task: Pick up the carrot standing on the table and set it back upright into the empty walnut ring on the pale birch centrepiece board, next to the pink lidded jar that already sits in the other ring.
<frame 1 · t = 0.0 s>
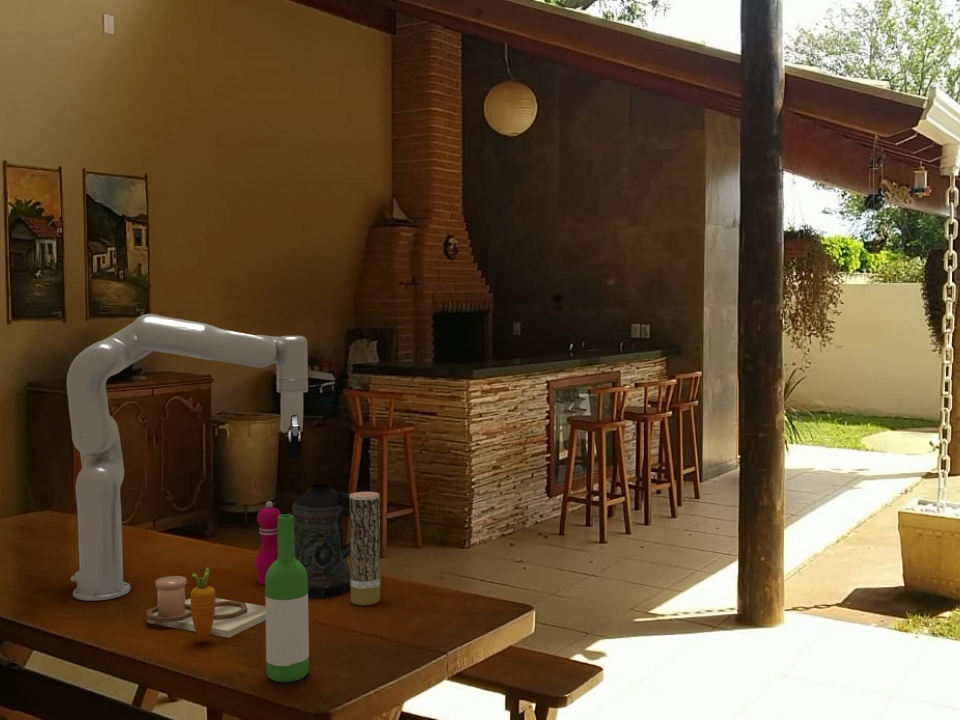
hand: (293, 454, 236), 31 cm above the table, tool pointing down, fingers open, 9 cm apart
pepper mill: (270, 581, 236), on the table
pink lidded jar: (171, 597, 206), point 5 cm above the table
paper tube: (365, 602, 220), on the table
carrot: (203, 643, 194), on the table
beer stein: (323, 588, 231), on the table
stand: (212, 618, 208), on the table
wine bottle: (287, 676, 177), on the table
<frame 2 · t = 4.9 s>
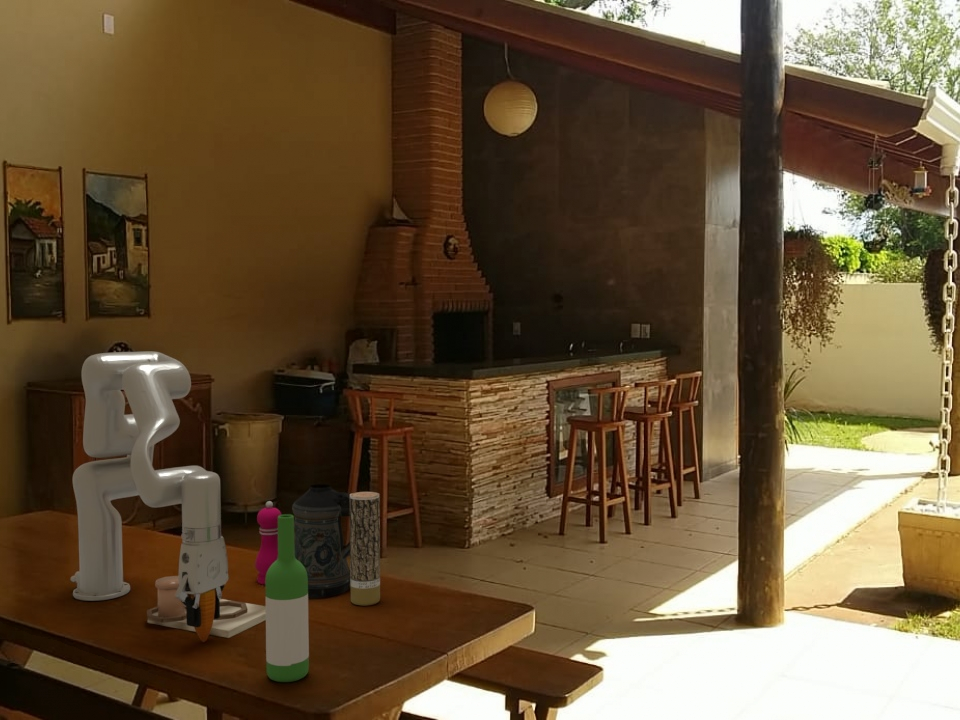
hand: (203, 620, 194), 4 cm above the table, tool pointing down, fingers closed on carrot, 4 cm apart
carrot: (203, 643, 194), on the table, touching gripper
everything else where it was.
when the fingers open (7 cm above the table, at t = 10.0 s): carrot drops 1 cm, resting on stand.
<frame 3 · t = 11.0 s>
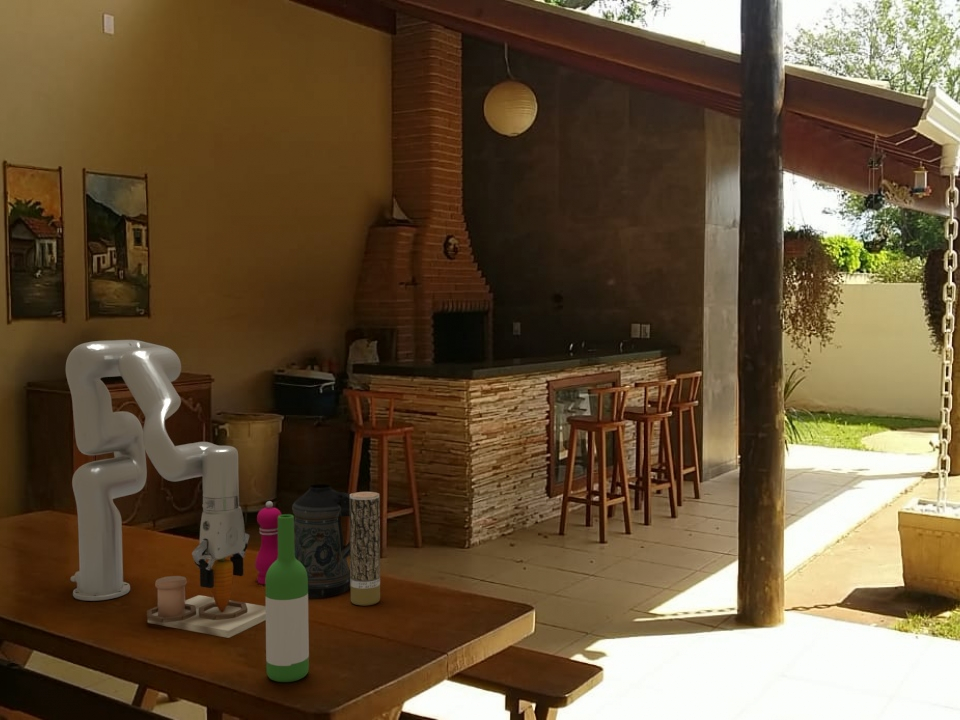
hand: (222, 580, 208), 8 cm above the table, tool pointing down, fingers open, 9 cm apart
carrot: (222, 612, 208), point 1 cm above the table, touching stand
everything else where it was.
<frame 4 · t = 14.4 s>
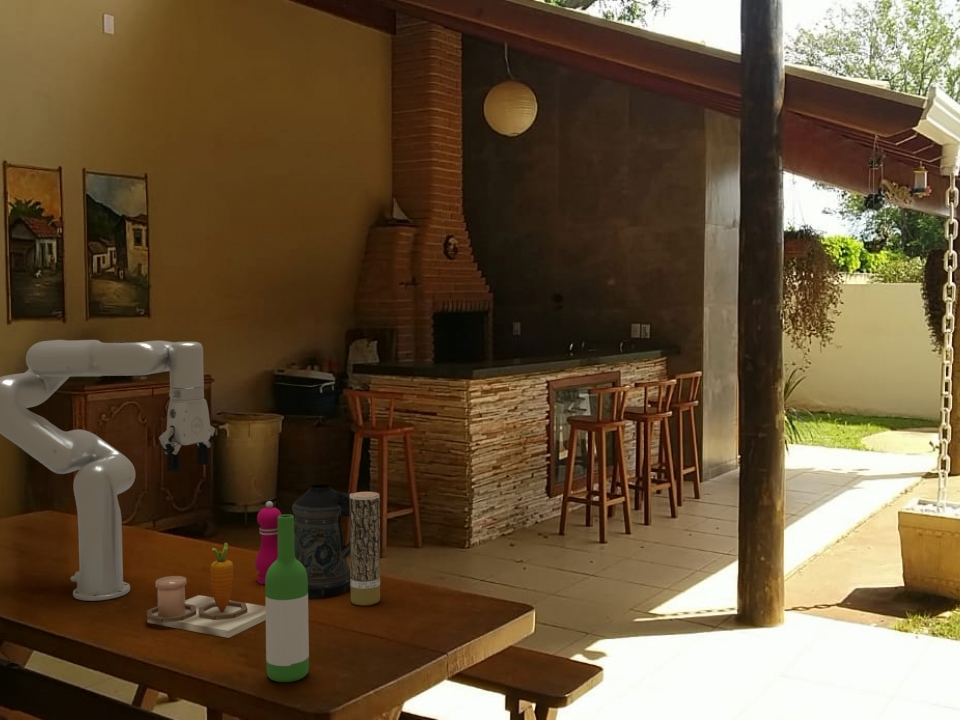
hand: (188, 467, 223), 30 cm above the table, tool pointing down, fingers open, 9 cm apart
nothing on the table moved.
at the end: carrot inside the target area on the stand (0.1 cm from its centre), point 1.3 cm above the stand's base; carrot tilted 1°; the gripper is holding nothing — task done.
